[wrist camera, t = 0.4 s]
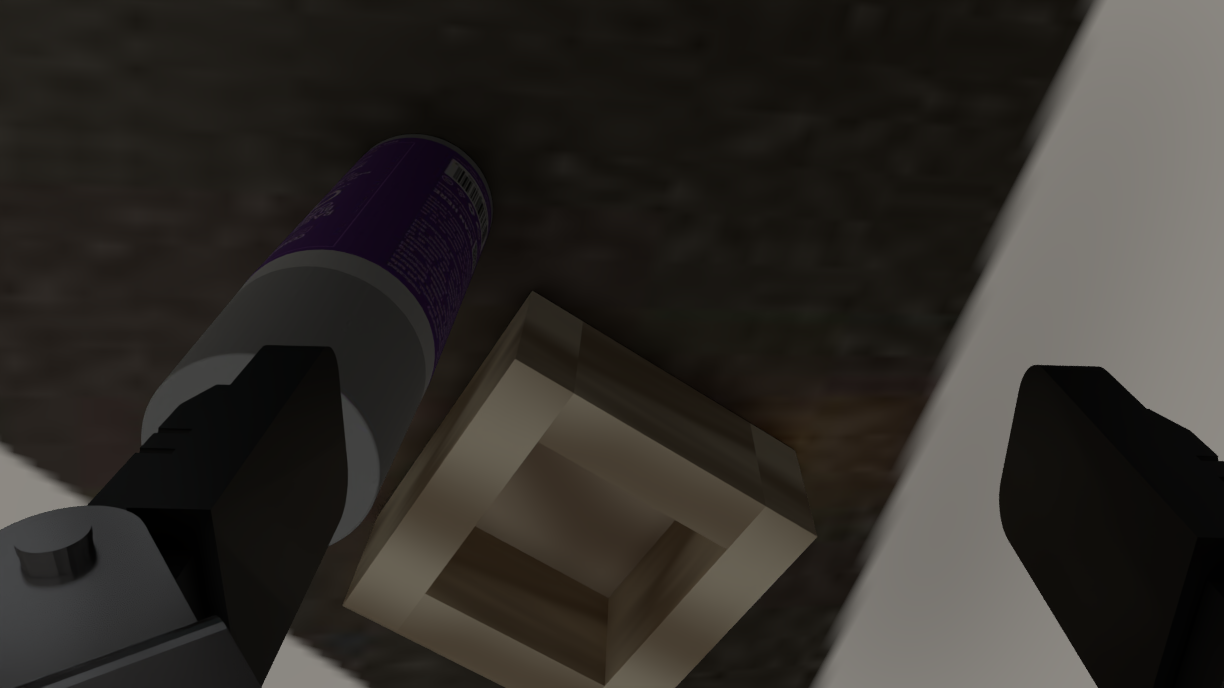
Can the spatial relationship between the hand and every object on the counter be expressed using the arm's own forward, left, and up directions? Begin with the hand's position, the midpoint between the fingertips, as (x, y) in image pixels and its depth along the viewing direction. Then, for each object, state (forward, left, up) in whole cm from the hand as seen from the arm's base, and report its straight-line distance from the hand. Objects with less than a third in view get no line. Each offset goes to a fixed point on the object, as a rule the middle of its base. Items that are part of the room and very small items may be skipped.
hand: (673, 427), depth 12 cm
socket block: (+13, +6, -20) cm, 25 cm away
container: (+7, -4, -21) cm, 22 cm away
